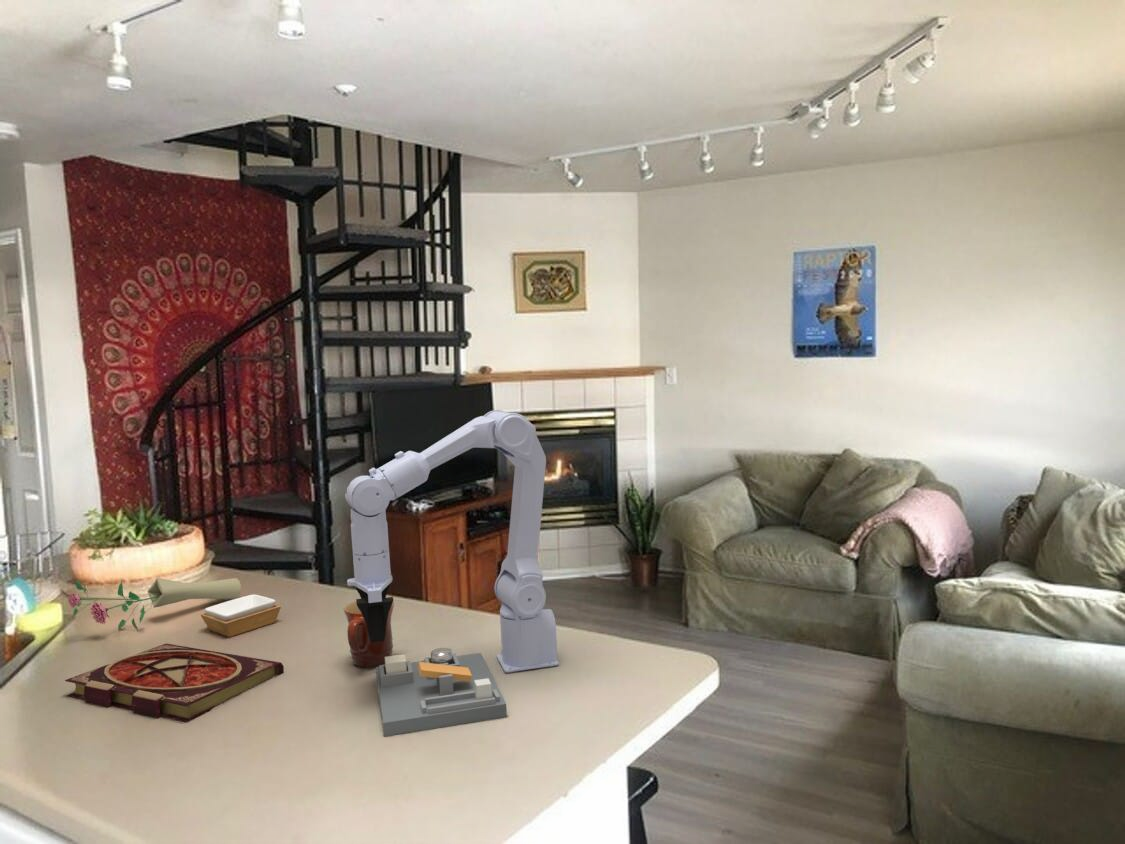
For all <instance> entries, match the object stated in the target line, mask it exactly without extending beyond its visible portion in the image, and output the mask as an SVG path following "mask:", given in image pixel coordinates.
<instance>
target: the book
mask: <svg viewBox="0 0 1125 844" xmlns="http://www.w3.org/2000/svg"><path fill="white" fill-rule="evenodd" d="M284 669H285V667H284V664H283V663H282V662H280V661H274V660H269V659H261V658H258V657H256V658H255V657H251V656H245V655H239V654H232V653H226V652H220V651H215V650H208V649H202V648H196V647H189V646H185V645H184V646H183V645H179V644H171V643H163V644H161V645H159V646H158V645H157V646H155V647H153V648H150V649H147V650H144V651H142V652H138V653H136V654H131V655H127V656H125V657H121V658H119V659H116V660H114V661H112V662H110V663H109V664H106V665H103V666H100V667H97V668H95V669H92V670H89V671H86V672H83V673H80V674H78V675H75V676H73V677H70V678H67V679H65V680H64V681H65V682H68V683H72V684H75V690H74V692H72V693H69V694H66V695H65V697H66V698H67V697H68V698H73V699H77V700H82V701H85V704H89V705H90V704H91V705H95V706H99V707H105V708H111V707H114V708H118V709H123V710H126V711H131V712H132V713H133V714H136V715H140V716H144V717H150V718H154V719H161V718H165V719H169V720H173V721H177V722H183V723H188V724H189V723H190V722H192V721H194V720H195V719H197V718H199V717H201V716H204V715H205V714H207V713H209V712H210V711H211V710H212V709H214V708H215V707H216V706H218V705H219V704H222V703H224V702H225V701H227V700H230V699H231V698H234V697H235V696H237V695H240V694H242V693H243V692H245V691H247V690H249V689H251V688H253V687H255V686H257V685H259V684H260V683H263V682H264V681H266V680H269V679H271V678H272V677H274V676H277V677H278V676H280V675H282V674H284V673H285V670H284Z"/></svg>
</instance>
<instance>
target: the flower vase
mask: <svg viewBox="0 0 1125 844" xmlns="http://www.w3.org/2000/svg"><path fill="white" fill-rule="evenodd" d="M74 581H75V583H74V585H75V588H76V589H77V590H79V591H81V590H82V591H83V593H85V594H86V596H87V597H85V598H81V597H80V596H79V595H78V594H76V593H74V592H70V593H69V595H68V604H69V606H71V608H72V609H74V610H73V613H72V616H73V617H75V616H77V614H78V613H79V612H80V611H81V610H84V608H87V607H88V606H90V605H91V607H90V611H91V612H90V614H91V615H93V616H92V619H93V620H95V622H96V623H99V624H102V625H105V623H107V621H106V620H107V617H108V618H109V619H110V618H111V617H110V616H109V615H108V611H109V610H112V609H114V608H119V607H121V610H122V611H123V612H124V613H126V612H127V611H128V610H129V607H130V606H131V605H133V603H141V602H143V601H147V600H150V601H151V604H150V603H149V604H147V605H145V604H143V606H142V607H141V609H140V611H139V612H140V616H139V619H138V620H139V624H141V622H142V621H143V619H144V616H145V614H146V613H147V611H149V610H150V608H148V609H147V610H145V607H146V606H149V605H150V607H152V606H153V608H160V607H163V606H166V605H171V604H175V603H180V602H184V601H187V600H200V599H201V600H202V599H203V600H204V599H205V600H227V601H230V600H234V599H237V598H240V595H241V591H242V584H241V582H240V580H239V579H238V578H236V577H232V578H227V579H226V578H225V579H219V580H212V581H211V580H210V581H202V582H201V581H200V582H181V581H176V580H171V579H165V578H162V577H161V578H160V577H156V579H155V580H154V582H153V583H152V584H151V586H150V587H149V589H148V590H147V594H148V596H149V597H146V598H141V597H139V596H138V594H136V593H134V592H132V591H129V592H128V598H125V595H124V591H123V590H124V586H123V581H121V582H120V583H119V585H118V589H117V596H120V597H123V598H107V597H89V595H88V589H87V587H86V584H83V585H82V584H81V583H80V582H79V581H78V579H75V580H74ZM83 600H94V601H92V602H91V603H88V604H87V603H85V604H84V603H82V602H81V601H83ZM97 600H114V601H115V600H116V601H124V603H121V604H118V605H115V606H111V607H108V608H107V607H105V606H104V605H103V604H102V602H100V603H98V601H97ZM81 605H83V606H84V605H85V607H83V608H81V609H79V610H78V608H77V607H80V606H81ZM138 606H139V604H137V605H136V606H135V607H134V608H133V609H132V610H133V611H132V612H131V614H130V615H129V617H128V618H127V619H126V620H125V619H122V620H120V622H119V624H118V627H117V630H118V631H119V630H121V629H122V628H123V627H124V626H125V625H126V622H127V621H128V620H129V619H130V617H131V616H132V614H133V616H135V614H134V611H135V609H136V608H137V607H138ZM131 623H132V626H133V628H135V630H137V631H139V629H138V626H137V624H136V621H135V617H133V618H132V619H131Z"/></svg>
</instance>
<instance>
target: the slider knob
mask: <svg viewBox="0 0 1125 844" xmlns="http://www.w3.org/2000/svg"><path fill="white" fill-rule="evenodd" d="M474 688H475V699H476V700H480V699H487V698H492V693H491V683H490V681H489V678H487V679H480V680H474Z"/></svg>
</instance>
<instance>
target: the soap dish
mask: <svg viewBox="0 0 1125 844" xmlns="http://www.w3.org/2000/svg"><path fill="white" fill-rule="evenodd" d="M276 602H277V601H276V599H273V598H270V597H267V596H262V595H259V594H249V595H244V596H242V597H238V598H237V599H234V600H226V601H224V602H221V603H218V604H214V605H211V606H208V607H205V608H204V612H203V613H201V614H200V617H201V619H202V620H203V622H204V624H206V626H207V628H208V630H210V631H212V632H215V633H217V634H221V635H223V636H225V637H226V636H227V637H228V638H232V637H234V636H236V635H240V634H243V633H246V632H249V631H252V630H256V629H258V628H259V629H260V628H261V627H264V626H267V625H273V624H274V623H275V622H276V621H277V618H278V616H279V614H280V610H281V608H282V606H281V605H278V604H277V603H276Z"/></svg>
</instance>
